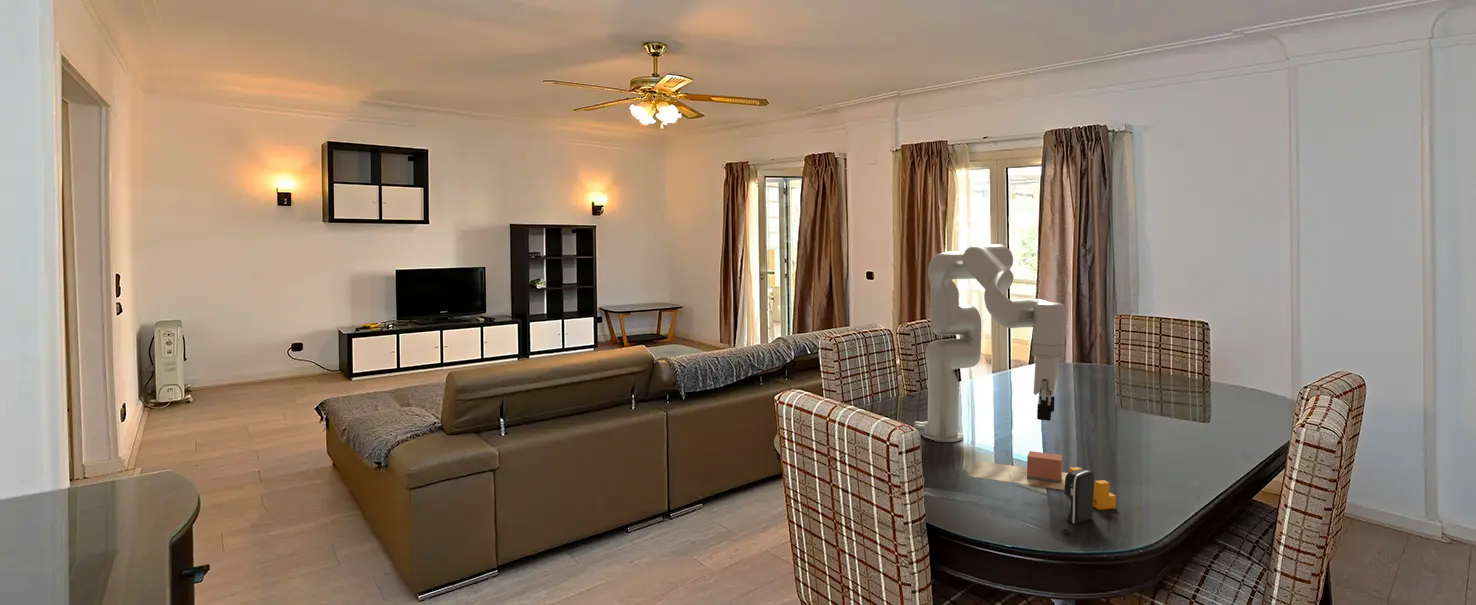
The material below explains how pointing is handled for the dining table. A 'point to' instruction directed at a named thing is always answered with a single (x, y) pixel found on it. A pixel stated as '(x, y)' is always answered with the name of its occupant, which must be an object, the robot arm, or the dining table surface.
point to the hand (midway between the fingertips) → (1045, 415)
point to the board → (1011, 475)
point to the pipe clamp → (1101, 494)
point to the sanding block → (1044, 467)
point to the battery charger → (1080, 495)
